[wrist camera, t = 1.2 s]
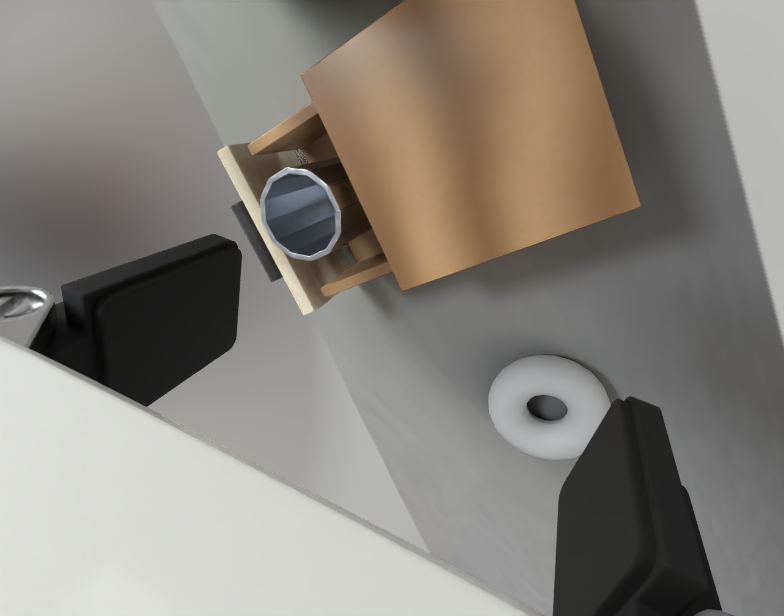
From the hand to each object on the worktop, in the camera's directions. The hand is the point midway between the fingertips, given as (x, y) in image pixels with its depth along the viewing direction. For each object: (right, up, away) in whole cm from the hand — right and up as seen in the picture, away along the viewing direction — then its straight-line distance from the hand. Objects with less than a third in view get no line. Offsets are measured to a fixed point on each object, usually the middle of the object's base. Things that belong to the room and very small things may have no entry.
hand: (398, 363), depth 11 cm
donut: (+14, -7, +29) cm, 33 cm away
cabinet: (+7, +15, +22) cm, 28 cm away
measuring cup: (-3, +11, +26) cm, 28 cm away
